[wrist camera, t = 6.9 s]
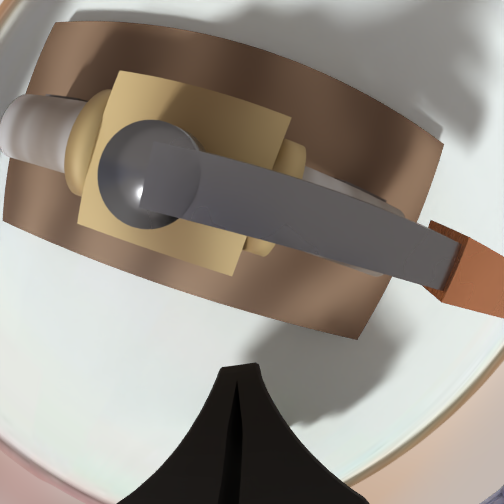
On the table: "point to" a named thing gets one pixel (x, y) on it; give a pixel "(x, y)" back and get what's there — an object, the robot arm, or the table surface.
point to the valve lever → (288, 214)
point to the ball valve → (214, 141)
